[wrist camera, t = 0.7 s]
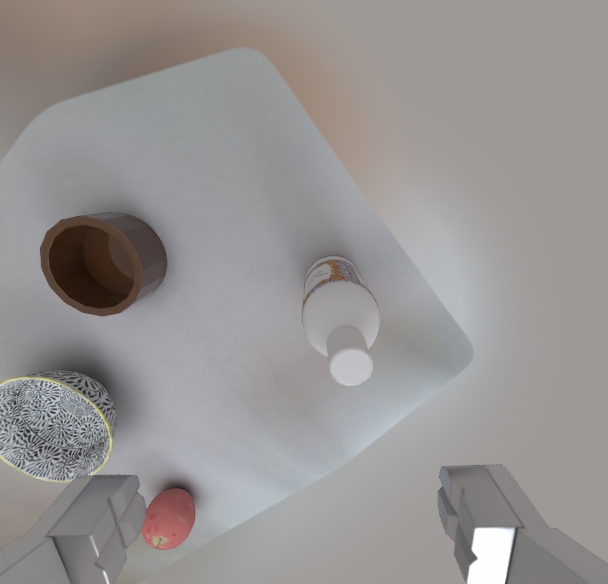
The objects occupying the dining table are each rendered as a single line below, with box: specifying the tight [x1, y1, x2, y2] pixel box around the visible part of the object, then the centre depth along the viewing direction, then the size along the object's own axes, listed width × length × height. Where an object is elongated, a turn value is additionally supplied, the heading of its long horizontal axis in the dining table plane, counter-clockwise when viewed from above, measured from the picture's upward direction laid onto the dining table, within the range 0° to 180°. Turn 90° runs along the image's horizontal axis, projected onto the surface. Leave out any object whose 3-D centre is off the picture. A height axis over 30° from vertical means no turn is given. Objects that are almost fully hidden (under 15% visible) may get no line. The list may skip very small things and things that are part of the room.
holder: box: [40, 212, 167, 316], centre depth 36 cm, size 11×11×6 cm
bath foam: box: [302, 256, 380, 386], centre depth 30 cm, size 7×7×20 cm
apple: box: [141, 488, 195, 550], centre depth 48 cm, size 7×7×8 cm
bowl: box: [0, 370, 116, 482], centre depth 42 cm, size 16×16×8 cm
